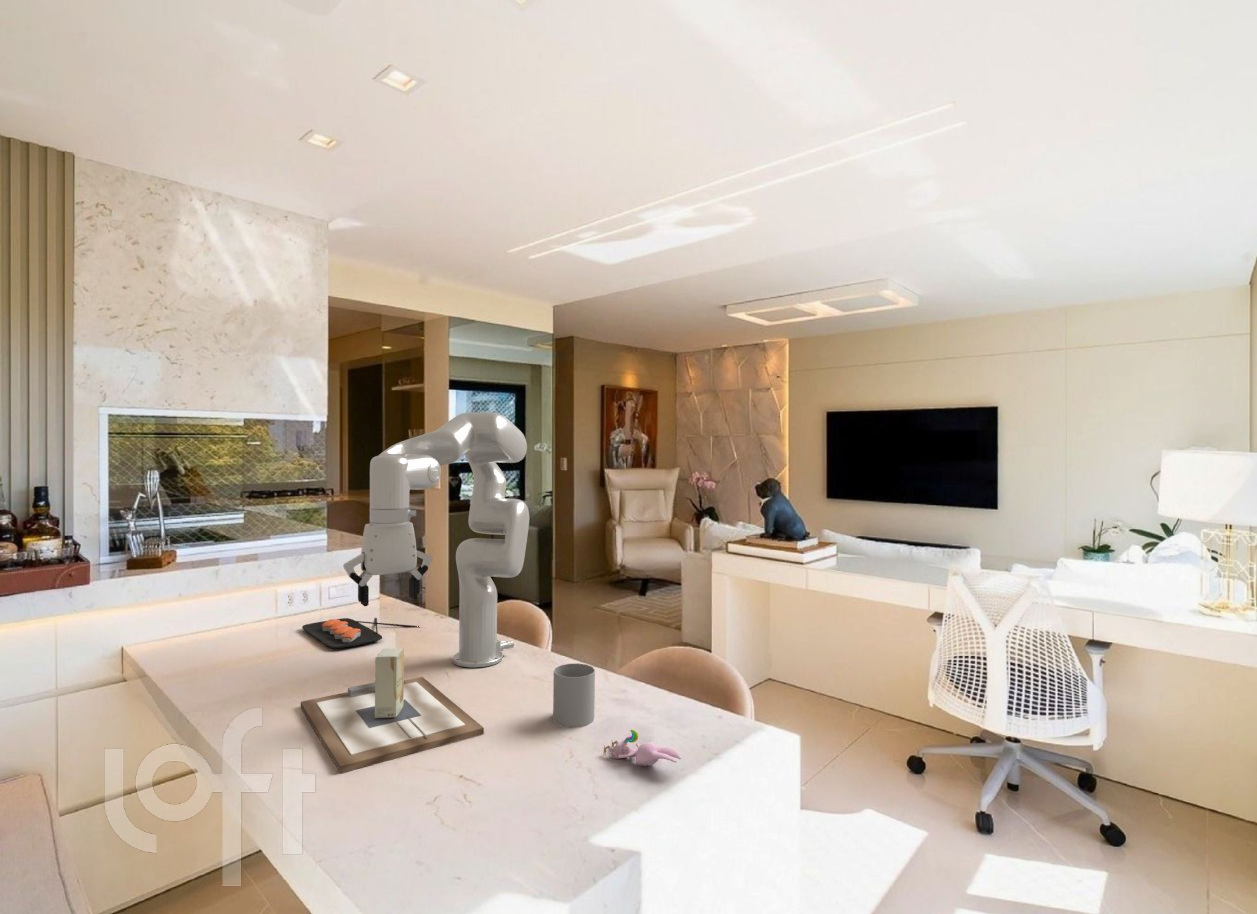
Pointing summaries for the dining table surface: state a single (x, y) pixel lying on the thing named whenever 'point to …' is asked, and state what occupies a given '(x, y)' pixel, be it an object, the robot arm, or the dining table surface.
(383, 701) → the skincare box
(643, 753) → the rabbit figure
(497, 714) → the dining table surface
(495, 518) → the robot arm
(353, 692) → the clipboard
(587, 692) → the cup
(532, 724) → the dining table surface
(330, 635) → the sushi plate
